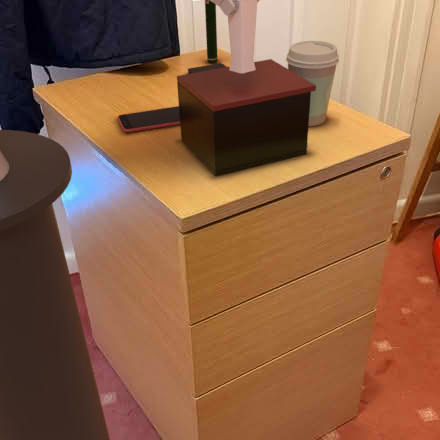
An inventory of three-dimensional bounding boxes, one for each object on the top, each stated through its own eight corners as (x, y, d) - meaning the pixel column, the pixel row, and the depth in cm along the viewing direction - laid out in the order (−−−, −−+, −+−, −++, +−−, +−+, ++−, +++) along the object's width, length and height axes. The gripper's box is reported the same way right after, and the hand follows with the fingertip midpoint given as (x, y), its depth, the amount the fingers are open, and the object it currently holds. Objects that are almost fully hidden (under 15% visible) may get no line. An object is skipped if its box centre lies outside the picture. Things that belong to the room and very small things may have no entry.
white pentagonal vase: (245, 61, 87) (245, -54, 77) (263, 69, 84) (265, -50, 74) (220, 67, 85) (216, -50, 76) (237, 75, 82) (235, -45, 73)
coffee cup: (335, 129, 97) (342, 55, 89) (283, 129, 97) (287, 56, 90) (330, 109, 103) (337, 39, 96) (282, 109, 104) (285, 39, 96)
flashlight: (195, 63, 125) (190, -43, 112) (210, 56, 128) (206, -47, 115) (214, 67, 123) (211, -40, 110) (228, 60, 126) (227, -45, 113)
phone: (221, 61, 121) (253, 84, 110) (221, 68, 122) (252, 91, 111) (186, 67, 119) (215, 91, 108) (187, 74, 120) (216, 98, 109)
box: (265, 122, 100) (266, 64, 94) (306, 154, 90) (311, 91, 84) (181, 141, 95) (176, 81, 89) (215, 176, 85) (213, 112, 79)
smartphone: (203, 118, 100) (123, 130, 97) (203, 121, 101) (124, 133, 98) (192, 103, 106) (116, 114, 102) (192, 106, 106) (116, 118, 103)
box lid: (270, 63, 94) (271, 58, 93) (315, 90, 84) (316, 85, 84) (176, 81, 89) (176, 75, 88) (213, 111, 79) (213, 106, 79)
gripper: (144, -92, 68) (214, 8, 70) (239, -110, 81) (296, -25, 83) (121, -52, 73) (187, 41, 75) (214, -74, 86) (269, 5, 88)
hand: (245, 6), depth 79 cm, fingers closed on white pentagonal vase, 4 cm apart
